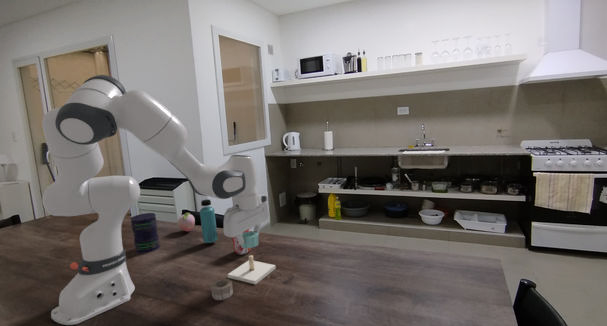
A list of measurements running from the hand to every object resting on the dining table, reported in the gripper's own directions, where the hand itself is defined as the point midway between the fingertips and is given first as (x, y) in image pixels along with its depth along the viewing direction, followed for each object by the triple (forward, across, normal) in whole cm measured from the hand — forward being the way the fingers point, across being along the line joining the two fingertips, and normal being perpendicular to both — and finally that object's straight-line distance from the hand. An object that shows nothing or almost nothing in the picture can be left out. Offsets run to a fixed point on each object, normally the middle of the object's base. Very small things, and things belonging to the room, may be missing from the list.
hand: (249, 240), depth 111 cm
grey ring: (+12, -14, 0) cm, 19 cm away
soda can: (+13, +13, +16) cm, 24 cm away
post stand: (+12, +1, +1) cm, 13 cm away
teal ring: (+2, 0, 0) cm, 2 cm away
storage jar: (+13, 0, +59) cm, 60 cm away
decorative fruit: (+13, +22, +59) cm, 64 cm away
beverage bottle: (+13, +15, +36) cm, 41 cm away
